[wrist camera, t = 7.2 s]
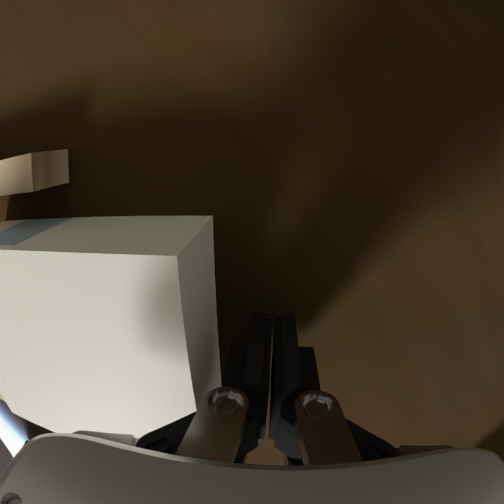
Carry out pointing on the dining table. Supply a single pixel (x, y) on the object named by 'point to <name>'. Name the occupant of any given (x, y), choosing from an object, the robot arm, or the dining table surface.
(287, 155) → the dining table surface
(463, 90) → the dining table surface
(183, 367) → the carton
